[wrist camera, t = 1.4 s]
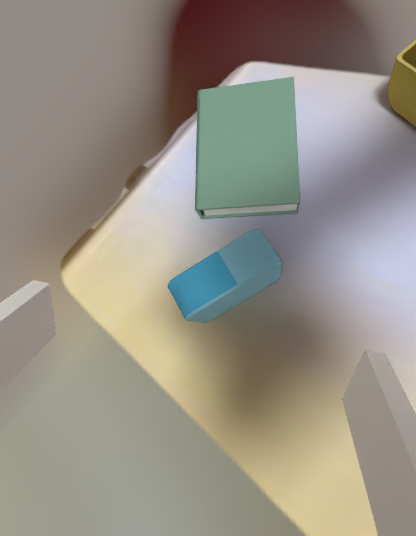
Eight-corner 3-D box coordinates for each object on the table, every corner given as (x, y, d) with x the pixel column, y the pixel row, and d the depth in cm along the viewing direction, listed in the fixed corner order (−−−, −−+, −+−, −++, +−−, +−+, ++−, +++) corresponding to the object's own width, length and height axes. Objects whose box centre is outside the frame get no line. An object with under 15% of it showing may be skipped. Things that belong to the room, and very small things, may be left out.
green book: (292, 97, 48) (293, 76, 44) (297, 213, 44) (300, 202, 40) (203, 108, 51) (197, 90, 47) (201, 219, 47) (195, 209, 43)
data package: (262, 252, 44) (259, 224, 32) (280, 279, 43) (283, 259, 31) (190, 296, 45) (162, 283, 33) (206, 323, 44) (182, 321, 32)
